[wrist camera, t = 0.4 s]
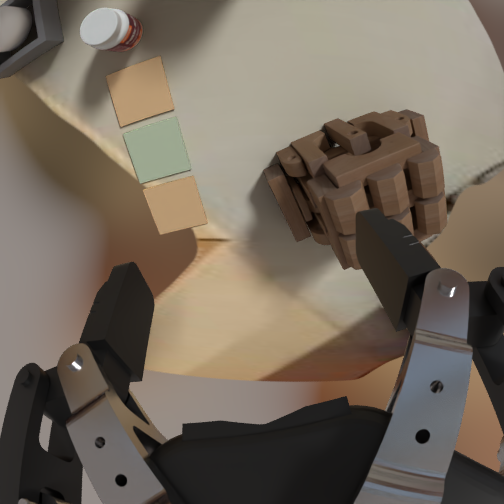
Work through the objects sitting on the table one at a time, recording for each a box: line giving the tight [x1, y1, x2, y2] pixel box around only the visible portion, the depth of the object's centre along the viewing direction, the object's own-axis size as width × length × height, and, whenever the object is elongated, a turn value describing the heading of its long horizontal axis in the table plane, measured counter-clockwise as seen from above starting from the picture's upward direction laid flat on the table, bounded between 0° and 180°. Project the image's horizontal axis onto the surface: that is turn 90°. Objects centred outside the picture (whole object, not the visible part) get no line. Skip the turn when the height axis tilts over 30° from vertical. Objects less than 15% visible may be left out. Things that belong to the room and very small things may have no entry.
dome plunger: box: [0, 6, 32, 52], centre depth 16 cm, size 6×6×6 cm
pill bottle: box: [80, 8, 143, 52], centre depth 21 cm, size 5×5×8 cm
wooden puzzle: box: [263, 110, 447, 270], centre depth 30 cm, size 22×15×19 cm, turn 116°
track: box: [106, 56, 208, 234], centre depth 34 cm, size 23×7×1 cm, turn 11°
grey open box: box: [0, 0, 64, 79], centre depth 19 cm, size 10×10×4 cm
